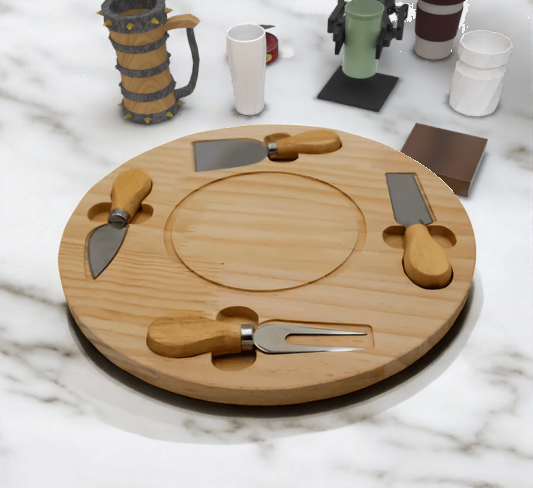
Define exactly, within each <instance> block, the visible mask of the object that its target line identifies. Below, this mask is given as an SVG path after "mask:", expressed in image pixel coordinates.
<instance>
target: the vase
mask: <svg viewBox="0 0 533 488" xmlns="http://www.w3.org/2000/svg"><path fill="white" fill-rule="evenodd" d="M458 43H459V44H458V47H457V55H458V60H456V63H455V68H454V72H453V75H452V79H451V84H450V95H449V99H448V105H449V106H450V107H451V108H452V109H453V110H454V111H455V112H457V113H460V114H463V115H464V116H469V117H484V116H487V115H491V114H493V113H494V111H495V110H496V109H497V107H498V105H499V102H500V98H501V92H502V90H503V86H504V83H505V79H506V75H507V67H506V66H505V65H506V64H508V63H509V61H510V57H511V53H512V50H513V47H514V46H513V42H512V38H510V37H508V36H507V35H505V34H503V33H502V32H498V31H493V30H489V29H475V30H470V31H469V32H466V33H463V34H462V36H461V38H460V39H459V42H458Z"/></svg>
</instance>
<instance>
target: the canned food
mask: <svg viewBox="0 0 533 488" xmlns="http://www.w3.org/2000/svg"><path fill="white" fill-rule="evenodd" d="M258 25H259V26H261V27H262V28H264V30H268V29H272V28H276V25H273V24H258ZM265 35H266V67H267V66H269V65H271V64H273V63H275V62H276V61H277V59H278V58H279V55H280V54H279V39H278V37H277V36H276V35H275V34H273V33H271V32H268V31H265Z"/></svg>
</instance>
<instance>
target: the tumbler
mask: <svg viewBox="0 0 533 488" xmlns="http://www.w3.org/2000/svg"><path fill="white" fill-rule="evenodd" d="M347 2H348V3H347V4H346V5H345V14H344V15H345V32H344V43H343V51H342V65H341V66H342V70H343V72H344V73H345V74H346V75H347V76H350V77H353V78H368V77H371V76H373V75H375V74H376V73H378V64H379V60H378V59H375V54H376V45H377V41H378V38H379V35H380V32H381V27H382V17H383V14H384V5H383V4H382V3H381V2H379V1H376V0H350V1H349V0H348V1H347Z"/></svg>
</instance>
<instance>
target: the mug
mask: <svg viewBox="0 0 533 488" xmlns="http://www.w3.org/2000/svg"><path fill="white" fill-rule="evenodd" d="M166 1H167V0H104V1H103V2H102V3H101V4H100V10H99V11H97V12H96V15H99V16H102V17H103V24H102V26H104V27H105V28H107V30H108V33H109V34H108V37H107V38H108V40H109V41H110V44H111V45H112V48H113V49H114V51H115V56H116V60H115V61H116V64H115V65H114V69H115V70H118V72H119V73H120V78H121V80H120V82H119V83H118V87H119V88H120V94H121V95H122V97H123V98H122V99H121V102H120V103H118V104H117V106H118V107H121V108H122V109H123V115H124V117H123V119H124V120H128V121H130V122H132V123H135V124H138V125H155V124H161V123H163V122H166V121H169V120H171V119H172V118H174V117H175V116H176V115H177V114H178V112H179V111H180V109H181V106H182V105H184V104H186V102H185V101H182V100H180V99H182V98H183V99H184V98H186V97H188V96H190V95H192V93H194V91H195V89H196V86H197V83H198V78H199V72H200V71H199V70H200V61H201V58H200V53H199V47H198V43H197V40H196V35H195V30H194V29H195V28H196V27H197V26H198V25H199V23H200V22H201V20H200V18H199V17H197V16H195V15H193V14H191V13H186V14H185V13H184V14H177V15H173V16H170V17H168V14H169V13H171V12H173V11H174V10H173V9H171V8H169V7H166V6H167V5H166ZM176 29H185V31H186V39H187V42H188V46H189V50H190V54H191V59H192V60H191V61H192V67H191V69H192V70H191V74H190V78H189V81H188V83H187V84H186V85H185V86H182V87H179V88H176V85H177V81H176V80H175V79H174V77H173V74H172V73H171V69H170V65H171V59H170V58H171V57H172V54H171V52H169V51H168V50H167V49H168V47H167V41H168V39H170V34H169V32H168V31H172V30H176Z"/></svg>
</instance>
